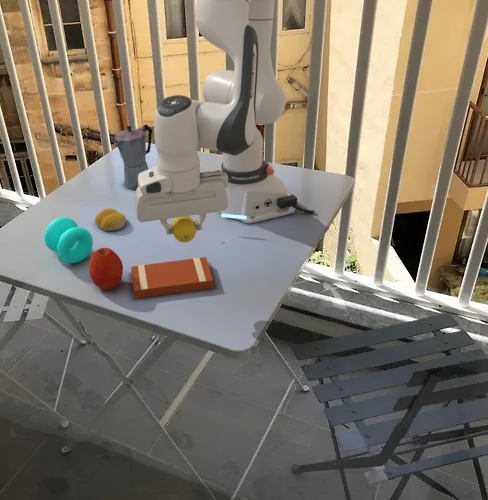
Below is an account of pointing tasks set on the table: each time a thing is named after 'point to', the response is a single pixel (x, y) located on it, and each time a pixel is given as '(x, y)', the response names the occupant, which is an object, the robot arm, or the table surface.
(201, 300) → the table surface
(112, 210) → the bread roll
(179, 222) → the lemon
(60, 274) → the table surface
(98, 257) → the apple
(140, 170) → the moka pot
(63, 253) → the donuts
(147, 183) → the robot arm
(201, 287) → the tea towel
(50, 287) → the table surface
